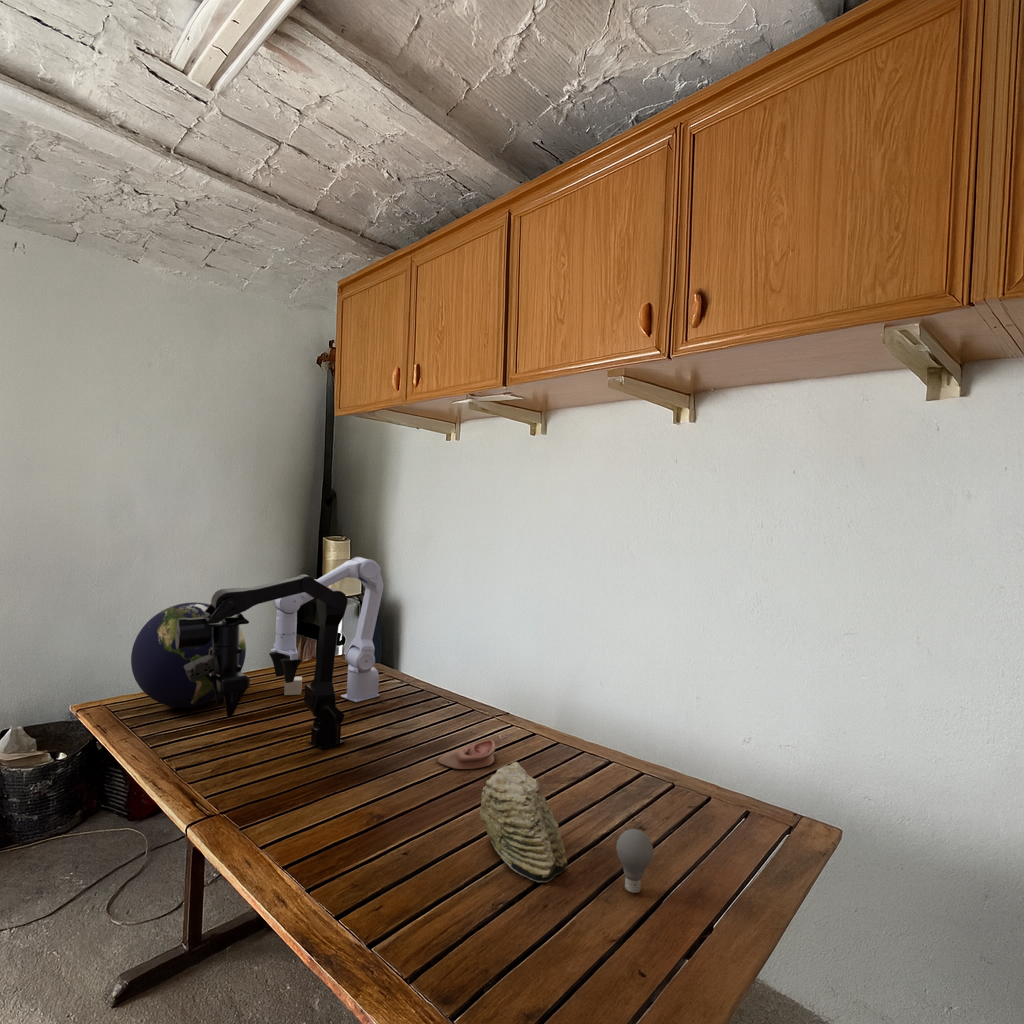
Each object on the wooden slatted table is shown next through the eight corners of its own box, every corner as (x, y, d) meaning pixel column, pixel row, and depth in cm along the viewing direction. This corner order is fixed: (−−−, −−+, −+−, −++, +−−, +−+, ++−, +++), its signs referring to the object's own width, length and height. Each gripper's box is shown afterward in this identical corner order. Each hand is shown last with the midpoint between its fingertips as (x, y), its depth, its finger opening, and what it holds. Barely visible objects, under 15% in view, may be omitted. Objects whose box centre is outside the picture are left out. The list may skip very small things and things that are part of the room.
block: (285, 691, 203) (285, 676, 203) (301, 690, 204) (302, 676, 204) (284, 695, 199) (284, 680, 199) (300, 694, 200) (301, 680, 200)
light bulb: (610, 879, 108) (613, 822, 108) (644, 879, 109) (647, 822, 109) (619, 902, 102) (622, 840, 102) (655, 901, 103) (658, 840, 103)
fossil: (501, 827, 124) (504, 751, 124) (575, 868, 111) (578, 784, 111) (467, 843, 118) (470, 763, 118) (541, 889, 105) (545, 799, 105)
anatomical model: (434, 749, 151) (448, 732, 162) (433, 766, 151) (447, 748, 162) (488, 756, 148) (499, 738, 159) (487, 773, 148) (498, 754, 160)
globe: (211, 683, 207) (214, 592, 206) (264, 704, 189) (267, 604, 189) (110, 705, 182) (113, 601, 182) (160, 731, 165) (164, 616, 164)
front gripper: (179, 640, 150) (178, 705, 150) (196, 657, 135) (195, 730, 135) (229, 634, 156) (228, 697, 157) (251, 650, 142) (249, 720, 142)
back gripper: (263, 629, 188) (262, 675, 189) (281, 639, 177) (279, 687, 178) (287, 627, 193) (285, 671, 193) (305, 636, 182) (304, 683, 182)
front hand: (224, 710), depth 148 cm, fingers open, 9 cm apart
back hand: (284, 679), depth 186 cm, fingers open, 7 cm apart
